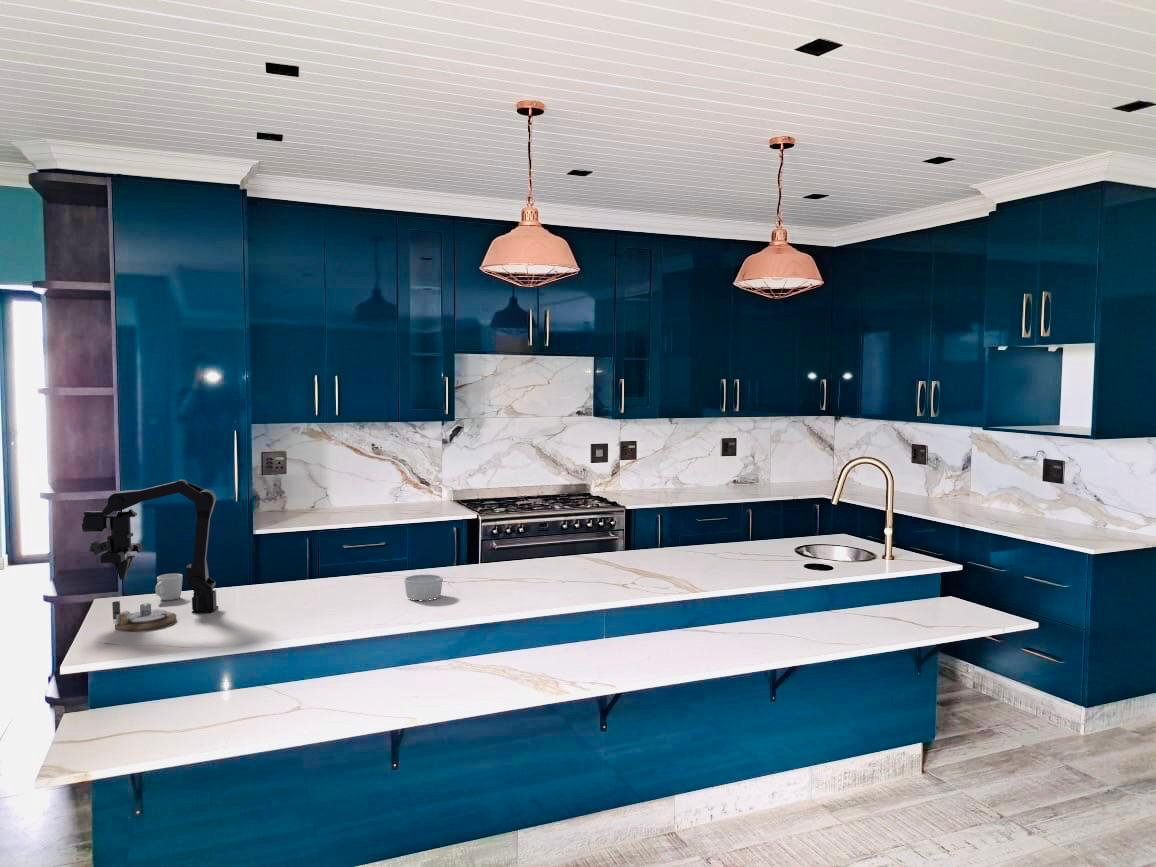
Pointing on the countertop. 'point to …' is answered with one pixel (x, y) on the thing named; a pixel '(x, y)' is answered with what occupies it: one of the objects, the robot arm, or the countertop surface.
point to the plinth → (145, 624)
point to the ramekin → (423, 586)
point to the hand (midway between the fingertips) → (122, 579)
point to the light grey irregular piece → (138, 614)
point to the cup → (169, 586)
